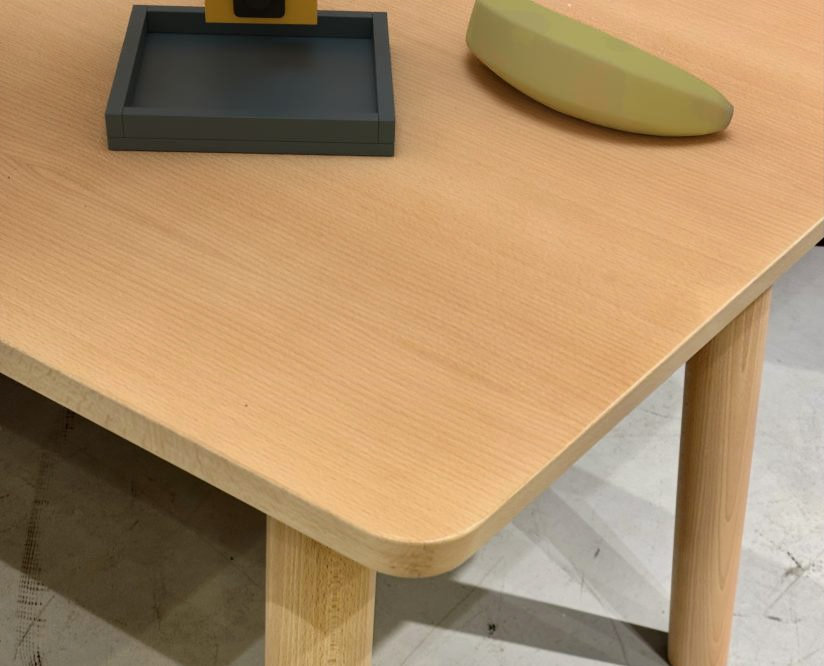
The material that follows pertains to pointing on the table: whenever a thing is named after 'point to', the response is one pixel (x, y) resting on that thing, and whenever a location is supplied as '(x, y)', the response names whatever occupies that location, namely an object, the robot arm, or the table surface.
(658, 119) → the banana
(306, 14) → the yellow block
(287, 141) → the tray
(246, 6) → the robot arm
